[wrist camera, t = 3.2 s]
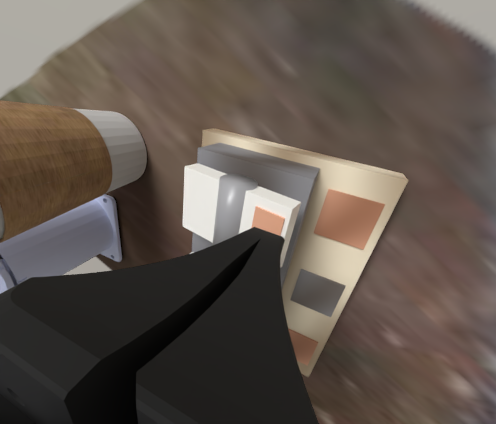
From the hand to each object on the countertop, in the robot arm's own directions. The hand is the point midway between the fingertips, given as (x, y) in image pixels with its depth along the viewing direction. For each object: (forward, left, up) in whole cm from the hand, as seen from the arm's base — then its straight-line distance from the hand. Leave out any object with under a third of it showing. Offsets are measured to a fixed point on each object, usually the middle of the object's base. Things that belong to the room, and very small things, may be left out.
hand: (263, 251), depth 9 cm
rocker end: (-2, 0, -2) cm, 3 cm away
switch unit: (-1, -6, -7) cm, 9 cm away
